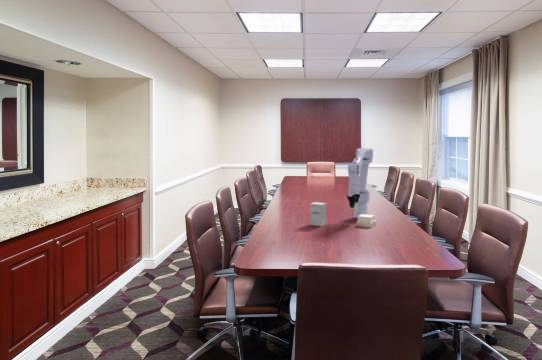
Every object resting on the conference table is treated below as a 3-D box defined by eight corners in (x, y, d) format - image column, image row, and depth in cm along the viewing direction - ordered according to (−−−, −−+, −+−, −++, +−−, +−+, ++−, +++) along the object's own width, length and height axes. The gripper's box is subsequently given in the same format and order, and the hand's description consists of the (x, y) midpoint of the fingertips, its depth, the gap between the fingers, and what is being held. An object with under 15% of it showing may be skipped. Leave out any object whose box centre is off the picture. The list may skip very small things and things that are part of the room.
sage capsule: (350, 208, 233) (351, 201, 233) (358, 209, 231) (358, 202, 230) (348, 209, 229) (348, 203, 229) (355, 210, 227) (355, 203, 226)
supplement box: (309, 225, 225) (309, 203, 223) (314, 222, 231) (314, 201, 230) (321, 226, 221) (321, 204, 220) (326, 224, 228) (326, 202, 226)
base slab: (360, 223, 231) (360, 218, 230) (376, 225, 226) (376, 220, 226) (356, 226, 223) (356, 221, 222) (372, 228, 218) (372, 223, 218)
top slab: (361, 218, 229) (361, 213, 229) (374, 220, 226) (374, 215, 225) (357, 221, 223) (357, 216, 222) (370, 222, 219) (370, 217, 219)
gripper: (351, 182, 237) (350, 204, 238) (343, 185, 224) (342, 208, 225) (362, 183, 233) (362, 205, 235) (355, 185, 221) (354, 209, 222)
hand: (353, 207), depth 230 cm, fingers closed on sage capsule, 4 cm apart
